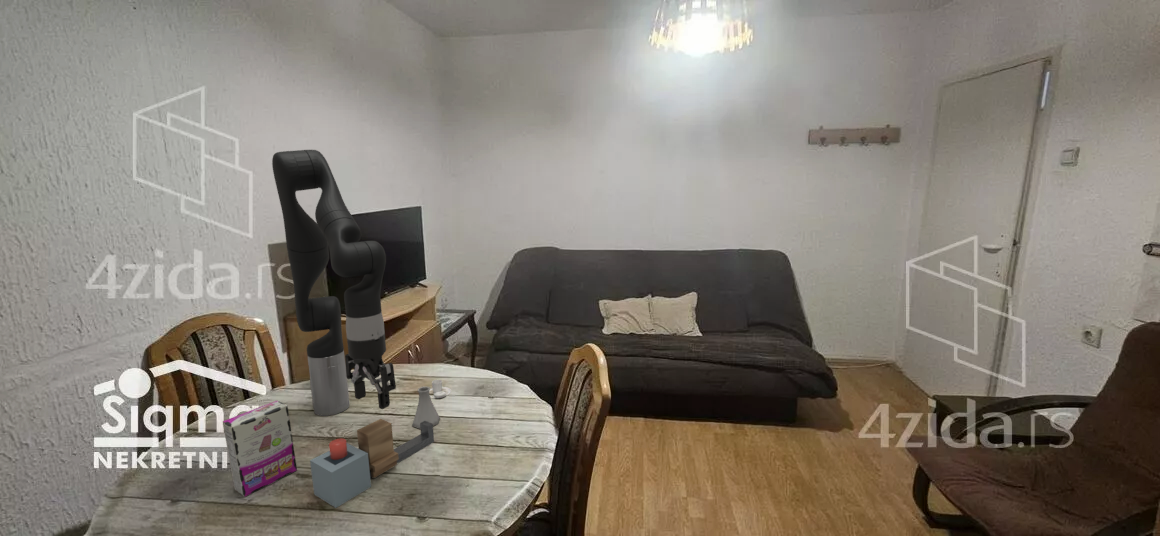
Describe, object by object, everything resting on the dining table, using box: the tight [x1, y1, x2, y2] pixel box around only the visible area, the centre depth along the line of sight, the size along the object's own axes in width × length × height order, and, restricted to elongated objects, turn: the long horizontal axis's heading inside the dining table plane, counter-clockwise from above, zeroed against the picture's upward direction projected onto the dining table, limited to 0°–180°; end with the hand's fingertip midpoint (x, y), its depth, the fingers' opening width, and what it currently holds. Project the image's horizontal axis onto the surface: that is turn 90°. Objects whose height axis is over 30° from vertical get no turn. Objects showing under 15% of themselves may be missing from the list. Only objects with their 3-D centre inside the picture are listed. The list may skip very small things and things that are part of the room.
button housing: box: [309, 442, 372, 509], centre depth 102 cm, size 8×8×8 cm
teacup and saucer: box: [429, 379, 452, 399], centre depth 149 cm, size 9×8×4 cm
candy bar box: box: [222, 400, 298, 497], centre depth 105 cm, size 11×5×16 cm, turn 148°
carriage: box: [356, 418, 399, 479], centre depth 109 cm, size 7×6×10 cm
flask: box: [411, 386, 441, 430], centre depth 130 cm, size 7×7×10 cm
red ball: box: [328, 437, 347, 460], centre depth 101 cm, size 3×3×3 cm
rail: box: [370, 421, 435, 480], centre depth 114 cm, size 3×20×5 cm, turn 148°
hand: (372, 402), depth 107 cm, fingers open, 8 cm apart
